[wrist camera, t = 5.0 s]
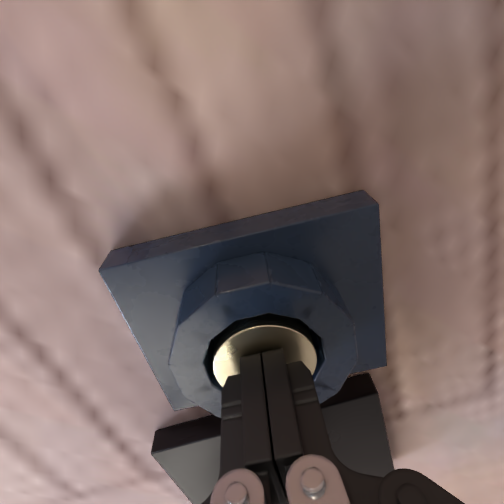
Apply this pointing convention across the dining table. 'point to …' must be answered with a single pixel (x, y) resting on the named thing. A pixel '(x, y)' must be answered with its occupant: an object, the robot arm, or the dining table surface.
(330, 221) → the box
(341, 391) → the bracket
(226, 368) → the button
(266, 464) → the robot arm
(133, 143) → the dining table surface
